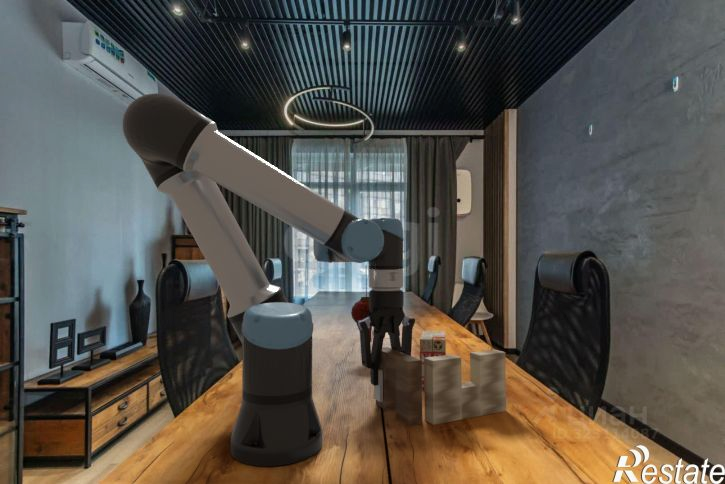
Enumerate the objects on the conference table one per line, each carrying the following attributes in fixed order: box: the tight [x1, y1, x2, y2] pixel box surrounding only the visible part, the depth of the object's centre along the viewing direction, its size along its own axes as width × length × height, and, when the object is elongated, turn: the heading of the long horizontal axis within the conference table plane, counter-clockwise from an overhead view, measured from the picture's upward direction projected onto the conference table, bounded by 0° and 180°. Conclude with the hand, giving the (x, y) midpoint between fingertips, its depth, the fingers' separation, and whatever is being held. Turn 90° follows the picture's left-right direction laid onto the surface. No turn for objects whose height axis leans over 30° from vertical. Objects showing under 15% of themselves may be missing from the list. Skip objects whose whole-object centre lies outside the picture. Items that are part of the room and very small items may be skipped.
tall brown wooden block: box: [375, 346, 423, 427], centre depth 87 cm, size 3×14×12 cm, turn 25°
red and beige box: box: [419, 330, 447, 389], centre depth 114 cm, size 21×6×12 cm, turn 169°
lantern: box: [350, 264, 373, 343], centre depth 132 cm, size 10×10×30 cm
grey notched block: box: [423, 349, 507, 426], centre depth 86 cm, size 18×3×12 cm, turn 115°
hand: (386, 398), depth 91 cm, fingers open, 3 cm apart
